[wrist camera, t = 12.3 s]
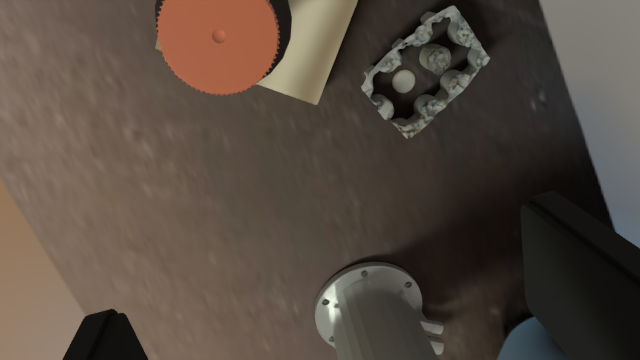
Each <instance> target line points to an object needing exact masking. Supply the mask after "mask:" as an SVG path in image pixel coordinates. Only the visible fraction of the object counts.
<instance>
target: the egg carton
mask: <svg viewBox="0 0 640 360" xmlns="http://www.w3.org/2000/svg"><path fill="white" fill-rule="evenodd" d="M443 17H450V19H451V23H450V24H449V26H448V31H447V35H448V38H449V39H450V40H451V41H452V42H454V43H457V44H460V45H462V46H463V45H464V46H466V47H470V46H471V47H472V48H471V50H470V51H469V53H468V56H467V61H468V66H467V67H466V68H465V69H464V70H463V71H462V72H459V71H457V70H449V71H447V72H445V73H444V74H443V72H444V70H446V69H447V68H448V66H449V65H450V63H451V54H450V51H449V50H448V49H447V48H445V47H443V46H440V45H437V44H428V45H426V46H424V47H423V48H422V50H421V52H420V58H419V60H420V63H421V64H422V65H423V66H424V67H425V68H427V69H429V70H430V71H432V72H433V73H435V74H436V75H441V74H443V75H442V77H441V79H440V87H441V89H440V90H439V91H438V92H437V94H436V95H435V96H434V97H433V96H431V95H429V94H424V95H420V96H419V97H418V98H417V99H416V100H415V102H414V105H413V108H414V112H415V113H414V114H413V115H412V116H411V117H410V118H409V119H407V120H406V119H404V118H396V119H394V120H390V119H391V118H392V117H393V114H394V107H393V104H392V102H391V101H389V100H388V99H387V98H386V97H385V96H383V95H381V94H375V95H372V96H371V94H372V92H373V76H374V75H375V74H376V73H377V72H379V71H382V72H388V73H389V72H391V71H393V70H394V69H395V68H396V67H397V66H398V65H401V59H402V56H401V55H400V53H399V51H398V49H403V48H405V46H406V45H405V43H406V42H407V43H408V44H407V45H408V46H410V45H414V46H420V45H421V44H423V43H426V42H428V41H429V39H430V38H431V35H432V34H433V32H432V22H441V21H442V19H443ZM420 21H421V24H422V26H419V27H418V28H417V29H416V31H415V33H414V34H412V35H411V36H409V37H407V38H406V39H405V40H402V39H400V38H399V39H398V40H397V41H396V42H395V43H394V44H393V45H392V49H393V50H391V51H390V52H389V53H388V54H386V55H385V56H384V57H383V59H382V60H381V61H380V62H379V63H378V64H377V65H376V66H373V65H371V66H369V67H368V68H367V69H366V70H365V71H364V74H365V75H366V80H365V82H364V84H363V85H362V86H361V88H362V90H363V91H364V92H365V93H366V94H367V95H368V96H369V99H370V100H371V101H372V102H373V104H374V105H376V106H377V107H378V108H379V109H378V111H379V113H380V114H381V115H382V117H383V118H384V119H385V120H388V121H391V122H392V123H393V124H394V125H395V126H396V127H397V128H398V130H399V131H400V132H401V133H402V134H403V135H404V136H405V137H406V138H412V137H413V136H414V135H415V134H417V133H419V132H420V131H421V130H422V129H423V128H424V127H425V126H427V125H428V124H429V123H430V122H431V121H432V120H433V119H434V115H435V114H437V113H438V112H439V111H441V110H442V109H444V108H445V107H446V106H447V104H448V103H449V102H450V101H451V100H453V99H454V98H455V97H456V96H457V95H458V94H460V93H461V92H463V90H464V89H465V88H466V87H467V85H468V84H469V83H470V82H471V80H472V79H473V77H474V76H475V75H476V74H477V73H478V71H479V69H480V68H481V67H482V66H485V65H486V64H487V63H488V62H489V60H490V57H489V56H488V55H487V54H486V52H485V51H484V49H483V48H482V45H481V43H480V42H479V41H478V39H477V38H476V36H475V35H474V33H473V31H472V30H471V28H470V27H469V25H468V23H467V22H466V21H465V19H464V18H463V17H462V16H461V14H460V12H459V11H458V9H457V8H456V7H455V6H450V7H448V8H446V9H444V10H442V11H441V12H439V13H437V14H436V13H432V12H426V13H425V14H424V15H423V16H422V17H421V18H420ZM414 84H415V76H414V74H413V73H412V72H411V71H409V70H401V71H399V72H397V73H396V74H395V75H394V77H393V81H392V86H393V88H394V90H395V91H397V92H399V93H406V92H408V91H410V90H411V89H412V88H413V86H414Z"/></svg>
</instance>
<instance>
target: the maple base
mask: <svg viewBox="0 0 640 360" xmlns="http://www.w3.org/2000/svg"><path fill="white" fill-rule="evenodd" d="M288 2H289V6H290V11H291V15H292V26H291V39H290V42H289V44H288V47H287V49H286V52H285V54H284V57H283V59H282V60H281V61H280V63H279V64H278V65H277V66H276V68H275V69H274V70H273V71H272V72H271V74H269V75H268V76H266V77H265V78H263V80H260V81H259V83H258V82H257V83H255V84H258V85H261V86H264V87H267V88H269V89H272V90H275V91H278V92H281V93H284V94H287V95H289V96H292V97H295V98H298V99H301V100H304V101H306V102H309V103H312V104H315V105H317V104H318V102H319V99H320V97H321V94H322V91H323V89H324V86H325V84H326V81H327V79H328V76H329V73H330V71H331V68H332V66H333V63H334V61H335V58H336V56H337V53H338V50H339V48H340V45H341V43H342V40H343V38H344V35H345V33H346V30H347V27H348V25H349V22H350V20H351V17H352V15H353V12H354V9H355V7H356V4H357V2H358V0H288ZM158 38H159V37H158ZM159 44H160V43H159V41H158V40H157V43H156V47H155V49H158V50H161V46H158V45H159Z"/></svg>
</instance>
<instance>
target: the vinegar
mask: <svg viewBox="0 0 640 360" xmlns="http://www.w3.org/2000/svg"><path fill="white" fill-rule="evenodd" d="M155 14H156V29H157V32H158V33H157V34H156V35H158V37H159V38H158V39H157V40H158V41H159V43H160V44H159V45H158V46H161V50H160V51H162V52H163V55H162V56H164V57H165V60H164V61H167V62H168V65H167V66H169V65H170V66H171V70H173V71H174V72H175V73H174V75H175V74H176V75H177V76H179V77H178V78H181V79H183V81H182V82H184V81H185V82H187V85H188V84H189V85H191V88H192V87H195V88H196V90H197V89H200V90H201V92H202V91H205V92H206V94H207V92H208V93H211V95H212V93H216V96H217V94H221V96H222V94H226V96H227V94H230V93H231V95H232V93H234V92H236V94H237V92H238V91H240V92H241V93H242V90H247V88H248V87H249V88H250V89H251V86H252V85H254V86H255V83H257V82H258V83H259V81H260V80H263V78H265V77H266V76H268V75H269V74H271V72H272V71H273V70H274V69H275V68H276V66H277V65H278V64H279V63H280V61H281V60H282V59H283V57H284V54H285V52H286V49H287V47H288V44H289V42H290V39H291V26H292V15H291V11H290V6H289V2H288V0H157V1H156V5H155Z"/></svg>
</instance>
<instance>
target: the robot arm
mask: <svg viewBox="0 0 640 360" xmlns="http://www.w3.org/2000/svg"><path fill="white" fill-rule="evenodd" d="M520 217H521V233H522V249H523V265H524V282H525V297H526V302H527V305H528V307H529V309H530V311H531V312H532V314H533V315H534V316H535V317H536V318H537V320H538V321H539V322H540V323H541V324H542V325H543V327H544V328H545V329H546V330H547V331H548V333H549V334H550V335H551V336H552V337H553V338H554V340H555V341H556V342H557V343H558V344H559V346H560V347H561V348H562V349H563V350H564V351H565V353H566V354H567V355H568V356H569V357H570V358H571V359H572V360H640V249H639V248H638V247H637V246H635V245H634V244H632V243H631V242H629V241H628V240H626V239H625V238H623V237H622V236H620V235H619V234H617V233H616V232H615V231H613V230H612V229H610V228H609V227H607V226H606V225H604V224H603V223H601V222H600V221H598V220H597V219H596V218H594V217H593V216H591V215H590V214H588V213H587V212H585V211H584V210H582V209H581V208H579V207H578V206H576V205H575V204H574V203H572V202H571V201H569V200H568V199H566V198H565V197H563V196H562V195H560V194H559V193H557V192H555V191H549V192H546V193H542V194H538V195H535V196H531V197H529V198H527V201H526V204H525V205H522V206H521V209H520ZM422 305H423V303H422V295H421V292H420V289H419V287H418V285H417V283H416V281H415V280H414V279H413V277H412V276H411V275H410V274H409V273H408V272H406V271H405V270H404V269H402V268H400V267H398V266H396V265H393V264H389V263H386V262H365V263H361V264H357V265H353V266H351V267H349V268H346V269H344V270H342V271H341V272H339V273H338V274H336V275H335V276H334V277H332V278H331V279H330V280H329V281H328V282H327V283H326V284H325V286H324V287H323V288H322V289H321V291H320V293H319V295H318V297H317V300H316V304H315V313H314V315H315V321H316V325H317V328H318V331H319V333H320V334H321V336H322V338H323V339H324V340H325V341H326V342H327V343H328V344H330V345H331V346H333V347H334V348H336V352H337V356H338V360H439V359H438V357H437V355H440V354H441V353H442V352H443V349H444V343H443V340H442V339H441V338H437V337H433V336H428V335H426V333H425V331H429V332H431V333H436V334H441V333H442V332H443V323H441V322H438V321H434V320H427V319H426V318H425V317H424V315H423V313H422ZM63 360H148V358H147V356H146V354H145V352H144V350H143V348H142V346H141V344H140V342H139V340H138V338H137V336H136V334H135V332H134V330H133V328H132V326H131V324H130V322H129V320H128V318H127V316H126V315H125V314H124V313H119V314H118V313H117V311H115V310H114V309H109V310H106V311H102V312H98V313H95V314H91V315H88V316H85V318H84V319H83V321H82V323H81V325H80V327H79V329H78V331H77V332H76V335H75V337H74V338H73V340H72V342H71V344H70V346H69V348H68V350H67V352H66V354H65V356H64V358H63Z"/></svg>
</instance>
